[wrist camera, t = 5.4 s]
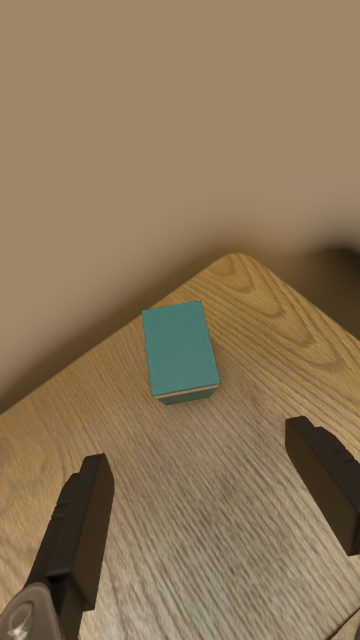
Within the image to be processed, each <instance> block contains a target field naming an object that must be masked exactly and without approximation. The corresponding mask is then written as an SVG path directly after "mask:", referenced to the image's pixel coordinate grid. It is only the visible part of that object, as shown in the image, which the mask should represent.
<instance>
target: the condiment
mask: <svg viewBox="0 0 360 640" xmlns="http://www.w3.org/2000/svg"><path fill="white" fill-rule="evenodd" d="M331 640H360V610H359V611H358V612H357V613H356V614H355V615H354V616H353V617H352V618H351V619H349V620H348V622H347V623H345V624H344V625H343V627H342V628H341V629H340V630H339V631H338V634H336V635H335V636H334V637H333V638H332V639H331Z"/></svg>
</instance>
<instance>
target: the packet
mask: <svg viewBox="0 0 360 640" xmlns="http://www.w3.org/2000/svg"><path fill="white" fill-rule="evenodd" d="M142 315H143V324H144V332H145V341H146V350H147V358H148V367H149V375H150V384H151V392H152V396H153V397H154V398H156V399H158V400H159V401H161V402H162V403H163V404H165V405H169V404H174V403H179V402H185V401H190V400H195V399H201V398H206V397H210V395H211V394H212V393H213V392H214V391H215V389H216V388H217V387H218V386H219V385H220V383H221V381H220V377H219V373H218V369H217V365H216V361H215V356H214V352H213V348H212V344H211V340H210V336H209V332H208V328H207V324H206V320H205V315H204V311H203V307H202V303H201V301H195V302H190V303H184V304H178V305H172V306H166V307H161V308H155V309H149V310H143V311H142Z"/></svg>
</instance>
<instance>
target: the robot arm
mask: <svg viewBox="0 0 360 640" xmlns="http://www.w3.org/2000/svg"><path fill="white" fill-rule="evenodd" d="M285 447H286V451H287V454H288V456H289V458H290V460H291V462H292V463H293V465H294V467H295V468H296V470H297V472H298V473H299V475H300V477H301V479H302V480H303V482H304V484H305V485H306V487H307V489H308V490H309V492H310V494H311V495H312V497H313V499H314V500H315V502H316V504H317V505H318V507H319V509H320V510H321V512H322V514H323V515H324V517H325V519H326V521H327V522H328V524H329V526H330V527H331V529H332V531H333V532H334V534H335V536H336V537H337V539H338V541H339V542H340V544H341V546H342V547H343V549H344V551H345V552H346V554H347V556H353V555H358V554H359V555H360V463H359V462H358V461H357V460H355V459H354V457H353V455H352V454H351V453H350V452H349V451H348V450H346V448H345V447H344V445H343V444H342V443H341V442H340V441H339V440H338V439H337V438H336V436H335V435H333V434H332V433H330V432H329V431H327V430H326V429H324V428H323V427H314V426H313V424H312V423H311V422H310V421H309V420H308V418H307V417H305V416H299V417H294V418H288V419H286V422H285ZM114 488H115V484H114V477H113V474H112V471H111V468H110V466H109V463H108V460H107V458H106V455H105V454H104V453H102V454H97V455H91V456H86V457H85V458H84V460H83V463H82V466H81V469H80V472H79V473H74V474H72V475H71V476H70V478H69V479H68V481H67V482H66V483H65V485H64V486H63V488H62V490H61V493H60V495H59V498H58V501H57V503H56V504H57V505H56V507H55V509H54V511H53V514H52V516H51V520H50V522H49V524H48V527H47V530H46V532H45V535H44V538H43V540H42V543H41V545H40V548H39V551H38V553H37V556H36V559H35V561H34V564H33V567H32V569H31V572H30V574H29V577H28V579H27V581H26V583H25V585H24V587H23V589H22V590H21V591H20V592H18V593H17V594H16V595H15V596H14V597H13V598H12V600H11V601H10V602H9V603H8V605H7V606H6V607H5V609H4V610H3V612H2V614H1V615H0V640H81V637H80V634H79V629H80V624H81V619H82V614H83V612H85V611H90V610H94V609H95V603H96V597H97V591H98V585H99V580H100V574H101V568H102V562H103V556H104V550H105V544H106V538H107V532H108V526H109V521H110V515H111V509H112V503H113V497H114Z"/></svg>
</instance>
